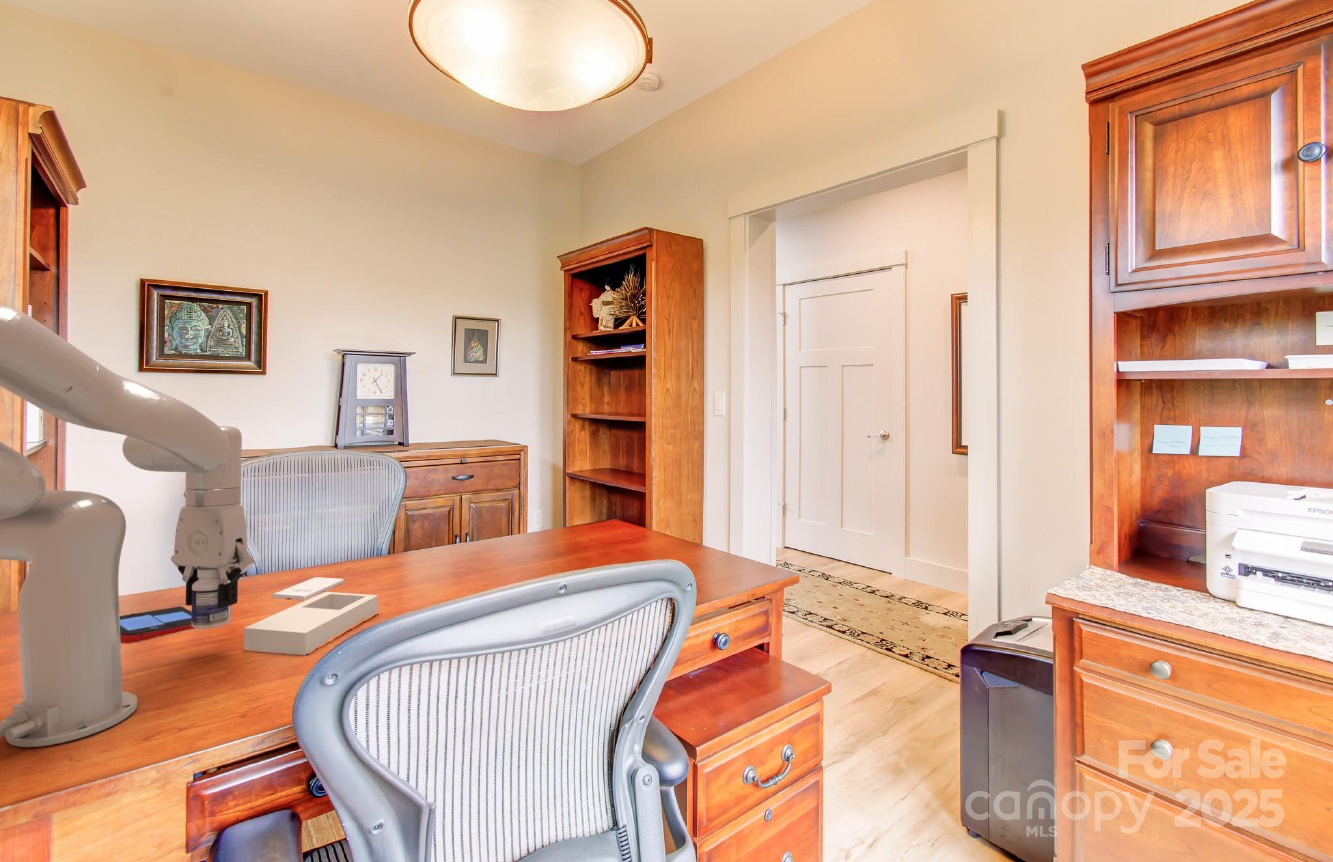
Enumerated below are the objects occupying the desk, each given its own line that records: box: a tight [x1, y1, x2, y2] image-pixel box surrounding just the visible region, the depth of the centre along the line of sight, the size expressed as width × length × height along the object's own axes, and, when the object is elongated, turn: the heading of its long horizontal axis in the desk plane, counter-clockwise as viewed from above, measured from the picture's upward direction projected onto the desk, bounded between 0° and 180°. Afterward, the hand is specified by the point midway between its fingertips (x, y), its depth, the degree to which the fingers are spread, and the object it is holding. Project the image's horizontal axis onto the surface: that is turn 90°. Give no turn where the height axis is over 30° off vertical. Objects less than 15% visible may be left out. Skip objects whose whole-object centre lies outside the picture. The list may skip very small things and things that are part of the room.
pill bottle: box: [191, 567, 232, 630], centre depth 101 cm, size 5×5×10 cm
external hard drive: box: [271, 576, 345, 601], centre depth 137 cm, size 2×8×12 cm
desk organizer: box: [243, 591, 379, 656], centre depth 113 cm, size 20×12×4 cm, turn 172°
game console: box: [120, 606, 194, 644], centre depth 115 cm, size 14×13×2 cm
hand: (211, 603), depth 101 cm, fingers closed on pill bottle, 5 cm apart
